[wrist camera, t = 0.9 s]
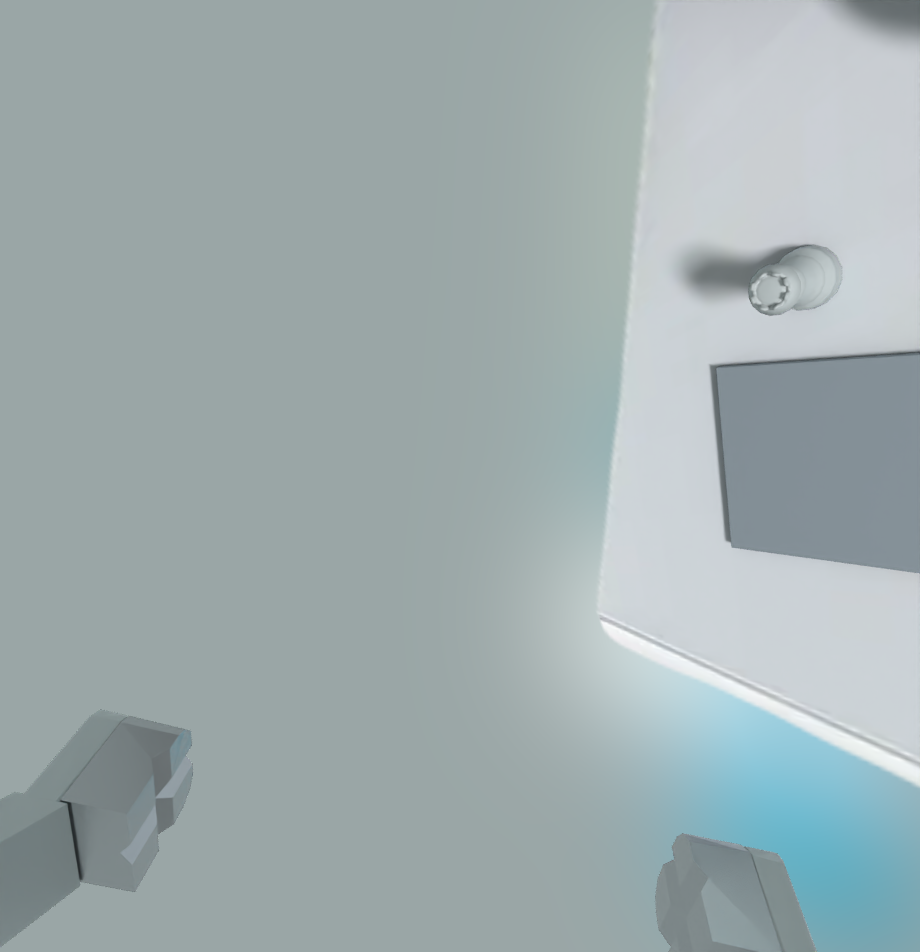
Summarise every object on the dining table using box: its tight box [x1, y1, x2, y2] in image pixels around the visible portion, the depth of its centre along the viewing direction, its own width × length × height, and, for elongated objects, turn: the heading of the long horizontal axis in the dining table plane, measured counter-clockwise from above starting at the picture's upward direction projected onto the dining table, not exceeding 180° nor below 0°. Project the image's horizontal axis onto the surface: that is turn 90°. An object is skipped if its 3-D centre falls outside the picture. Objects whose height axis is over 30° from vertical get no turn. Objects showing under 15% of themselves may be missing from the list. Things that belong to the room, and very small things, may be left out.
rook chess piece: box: [748, 245, 842, 316], centre depth 43 cm, size 4×4×8 cm
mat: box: [716, 353, 920, 573], centre depth 47 cm, size 20×16×1 cm
